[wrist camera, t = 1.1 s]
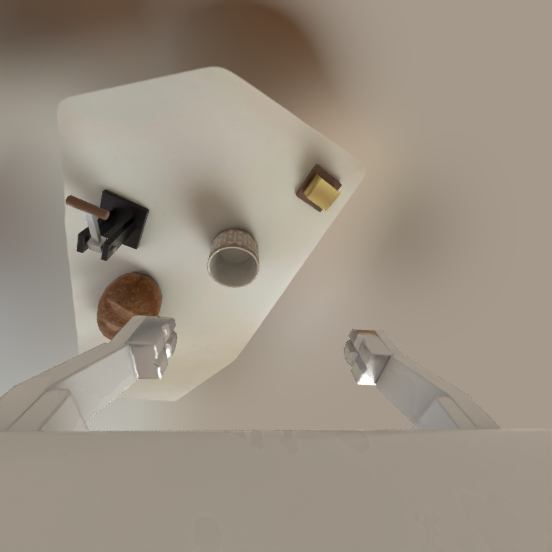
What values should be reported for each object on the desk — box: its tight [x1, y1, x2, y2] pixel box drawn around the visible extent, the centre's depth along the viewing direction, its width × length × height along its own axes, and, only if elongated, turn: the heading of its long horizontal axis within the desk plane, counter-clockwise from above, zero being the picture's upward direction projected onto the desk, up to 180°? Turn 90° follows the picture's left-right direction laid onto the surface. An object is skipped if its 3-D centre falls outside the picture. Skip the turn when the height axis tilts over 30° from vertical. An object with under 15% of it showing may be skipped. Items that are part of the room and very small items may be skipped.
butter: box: [296, 164, 341, 212], centre depth 48 cm, size 8×8×5 cm
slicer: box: [77, 190, 149, 261], centre depth 45 cm, size 12×9×13 cm
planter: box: [207, 229, 259, 287], centre depth 54 cm, size 13×13×10 cm
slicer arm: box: [66, 195, 110, 253], centre depth 37 cm, size 14×5×2 cm, turn 146°
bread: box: [97, 272, 162, 340], centre depth 62 cm, size 16×29×11 cm, turn 149°
